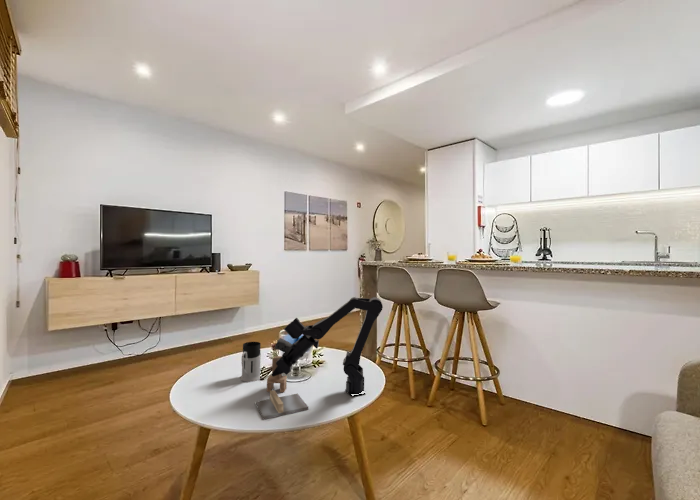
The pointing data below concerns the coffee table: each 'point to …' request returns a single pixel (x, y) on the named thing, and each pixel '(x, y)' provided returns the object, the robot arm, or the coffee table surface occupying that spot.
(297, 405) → the cross plate base
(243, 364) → the glass holder
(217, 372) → the coffee table surface
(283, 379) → the wooden block
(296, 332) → the robot arm
